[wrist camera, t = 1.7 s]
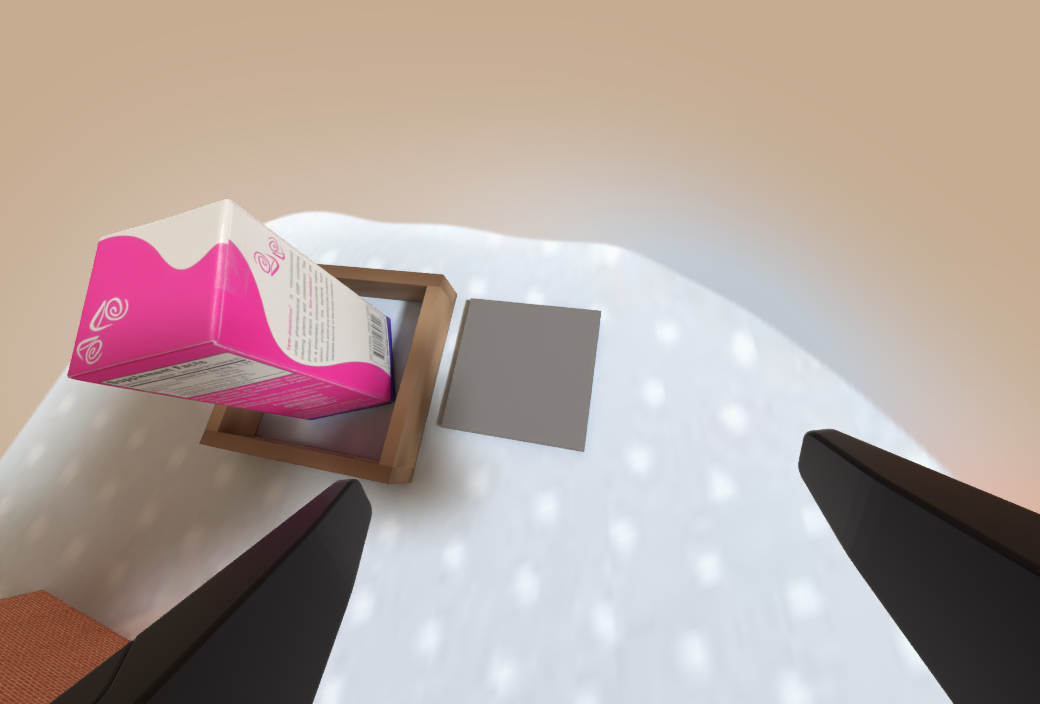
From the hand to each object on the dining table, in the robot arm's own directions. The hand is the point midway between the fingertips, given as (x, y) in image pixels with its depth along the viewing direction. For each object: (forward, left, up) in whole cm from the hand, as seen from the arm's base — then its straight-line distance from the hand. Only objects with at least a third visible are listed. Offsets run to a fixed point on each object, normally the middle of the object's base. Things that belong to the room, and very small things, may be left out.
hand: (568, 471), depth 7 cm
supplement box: (-6, +14, -13) cm, 20 cm away
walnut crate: (-6, +14, -12) cm, 19 cm away
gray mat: (+2, +6, -12) cm, 14 cm away
